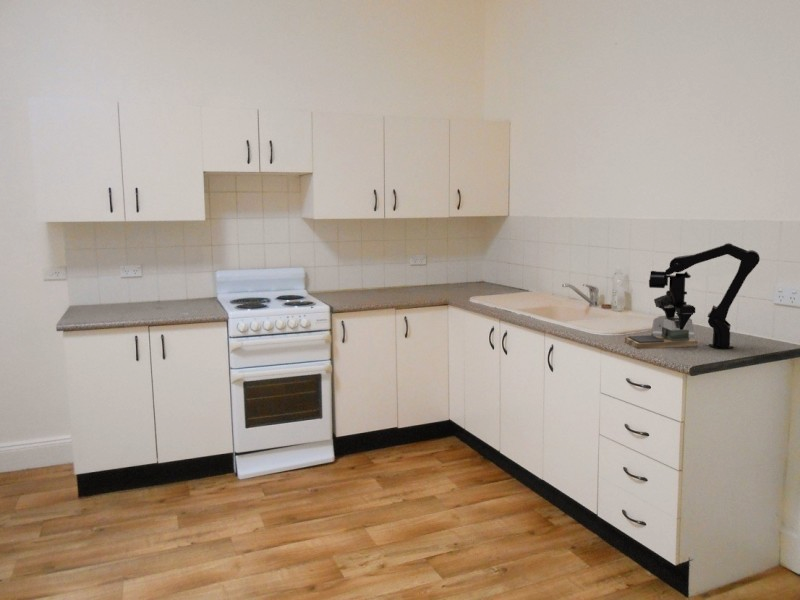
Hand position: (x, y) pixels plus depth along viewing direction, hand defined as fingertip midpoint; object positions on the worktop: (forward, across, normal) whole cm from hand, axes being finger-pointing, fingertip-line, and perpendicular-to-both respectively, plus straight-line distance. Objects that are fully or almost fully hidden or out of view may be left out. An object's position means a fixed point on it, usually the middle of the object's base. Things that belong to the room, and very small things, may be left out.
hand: (675, 327), depth 256 cm
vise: (+7, 0, -6) cm, 9 cm away
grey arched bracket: (+7, -13, +6) cm, 16 cm away
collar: (+1, 0, 0) cm, 1 cm away
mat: (+5, 0, -12) cm, 13 cm away
